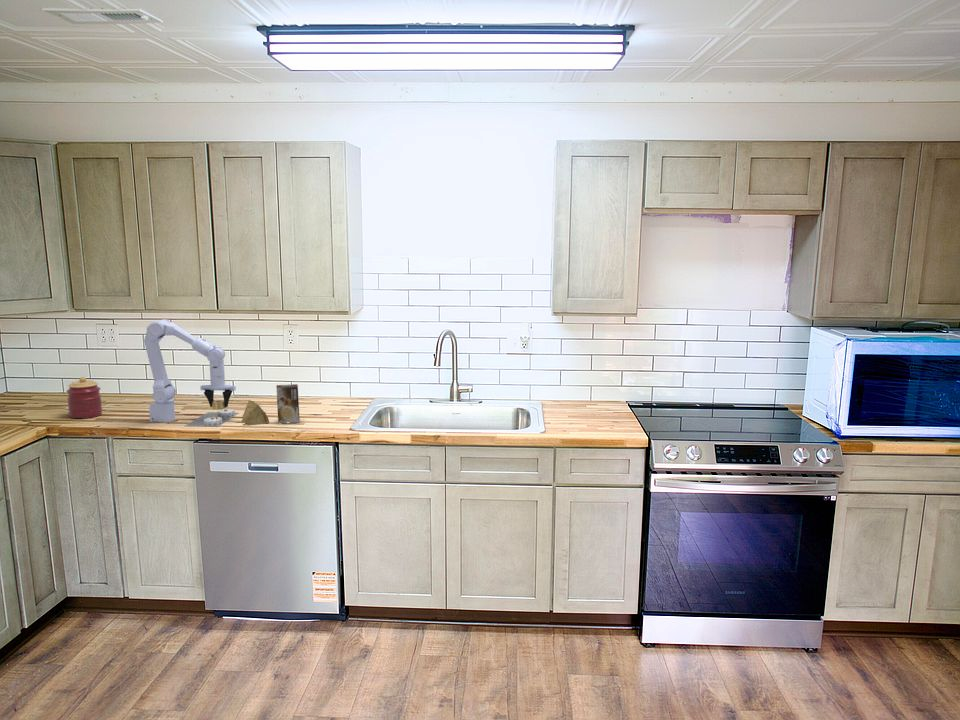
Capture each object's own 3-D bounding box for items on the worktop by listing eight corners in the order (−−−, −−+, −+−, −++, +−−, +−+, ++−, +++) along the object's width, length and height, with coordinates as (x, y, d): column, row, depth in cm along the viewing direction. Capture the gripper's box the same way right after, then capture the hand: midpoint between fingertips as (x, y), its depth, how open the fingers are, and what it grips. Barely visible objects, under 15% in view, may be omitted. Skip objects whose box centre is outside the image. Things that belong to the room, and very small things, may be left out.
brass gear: (210, 409, 283) (209, 402, 282) (215, 406, 288) (215, 399, 288) (222, 409, 283) (222, 403, 282) (228, 406, 288) (227, 400, 288)
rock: (275, 415, 289) (255, 410, 291) (269, 403, 282) (249, 398, 285) (262, 435, 282) (242, 429, 284) (255, 423, 276) (235, 417, 278)
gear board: (184, 428, 275) (183, 419, 274) (208, 414, 298) (208, 405, 298) (217, 429, 275) (217, 419, 274) (239, 414, 298) (239, 406, 298)
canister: (92, 410, 302) (89, 372, 299) (108, 414, 296) (105, 376, 293) (62, 416, 291) (59, 377, 288) (78, 420, 285) (75, 380, 282)
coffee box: (299, 419, 292) (298, 383, 290) (299, 423, 286) (298, 386, 284) (277, 420, 290) (276, 384, 287) (277, 424, 284) (276, 387, 281)
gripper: (237, 374, 287) (239, 404, 289) (204, 373, 287) (206, 404, 289) (231, 377, 280) (232, 408, 282) (197, 377, 280) (199, 408, 282)
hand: (219, 406), depth 285 cm, fingers closed on brass gear, 6 cm apart
